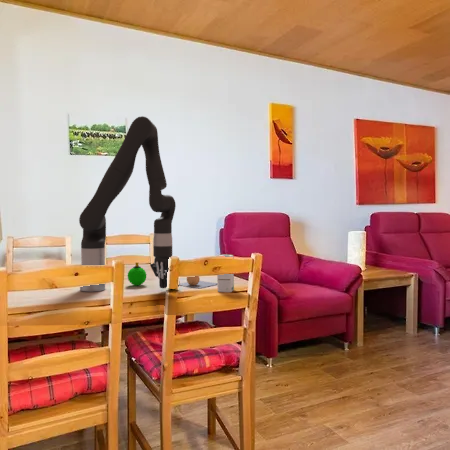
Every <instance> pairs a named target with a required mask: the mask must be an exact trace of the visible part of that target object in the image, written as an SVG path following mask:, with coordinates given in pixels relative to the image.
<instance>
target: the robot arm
mask: <svg viewBox="0 0 450 450" xmlns="http://www.w3.org/2000/svg"><path fill="white" fill-rule="evenodd" d="M141 147H142V149H143V152H144V157H145V173H146V179H147V183H148V185H149V190H148V205H149V207H150V209H151V210H152V211H153V212H155V213H161V214H160V216H159V217H158V218H156V219H155V220H153V221H154V222H153V238H152V239H153V241H152V242H153V244H152V247H153V248H152V249H153V251H152V252H153V253H152V254H153V255H152V256H153V257H154V259H153V261H154V262H153V263H150V265H149V267H150V268H151V270H152V272H153V273H154V276H155V277H157V278H158V279H159V288H160V289H166V288H167V272H168V259H169V257H171V258H172V256H173V233H172V231H173V230H172V223H173V219H174V216H175V210H176V207H177V206H176V201H175V198H174V197H173V196H172V195H170V194H162V191H163V190H165V189H166V188H167V185H168V184H167V179H166V175H165V171H164V168H163V164H162V159H161V153H160V149H159V148H160V147H159V135H158V128H157V127H156V125H155V124H154V123H153V121H151V120H150V118H148V117H147V116H143V115H142V116H138V117H136V118H135V119H133V120H132V122H131V124H130V126H129V128H128V130H127V133H126V134H125V136H124V139H123V141H122V144H121V146H120V147H119V149H118V151H117V152H116V154H115V156H114V158H113V159H112V162H110V164H109V166H108V168H107V169H106V172H105V173H104V175H103V177H102V179H101V181H100V183H99V185H98V187H97V189H96V191H95V193H94V195H93V196H92V197H91V199H90V201H89V202H88V203H87V205H86V206H85V208H84V209H83V211H82V212H81V213H80V215H79V218H78V221H79V226H80V228H81V229H82V238H81V243H80V251H81V252H80V255H81V258H80V260H81V261H80V262H81V263H80V266H81V265H105V266H106V240H107V239H106V238H107V220H106V219H107V218H106V214H107V212H108V209H109V208H110V206H111V205H112V203H113V201H114V200H115V199H116V198H118V196H119V195H120V193H121V192H122V191H123V189H124V188H125V187H126V186H127V184H128V181H129V180H130V178H132V177H131V176H132V175H133V171H134V168H135V163H136V159H137V154H138V152H139V151H140V148H141ZM105 290H106V283H105V284H99V285H90V286H83V287H80V286H79V291H80V292H91V293H92V292H101V291H105Z"/></svg>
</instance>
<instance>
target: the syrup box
mask: <svg viewBox="0 0 450 450" xmlns="http://www.w3.org/2000/svg"><path fill="white" fill-rule="evenodd" d="M219 256H225V257H233V258H234V254H220V255H219ZM234 279H235V273H234V274H224V275H217V283H218V285H217V292H219V293H232V292H233V291H234V290H235V280H234Z"/></svg>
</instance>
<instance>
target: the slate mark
mask: <svg viewBox="0 0 450 450" xmlns="http://www.w3.org/2000/svg"><path fill="white" fill-rule="evenodd" d="M179 285H182V286H181V287H185V286H187V287H186V288H192V287H193V289H199V288H200V289H203V288H209V287H214V286H218V282H212V281H211V282H210V281H203V280H199V283H198V284H197V285H194V286H193V285H189V284H188V282H187V281H186V282H182V283H179ZM183 285H184V286H183Z"/></svg>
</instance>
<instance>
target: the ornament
mask: <svg viewBox="0 0 450 450" xmlns="http://www.w3.org/2000/svg"><path fill="white" fill-rule="evenodd" d="M127 280H128V281H129V283H131V285H133V286H136V287H137V286H141V285H143V284H144V283H145V281H146V280H147V271H145V269H144V268H143V267H141V266H140V265H139V262H135V266H133V267H131V268H130V270H129V271H128V273H127Z"/></svg>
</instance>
